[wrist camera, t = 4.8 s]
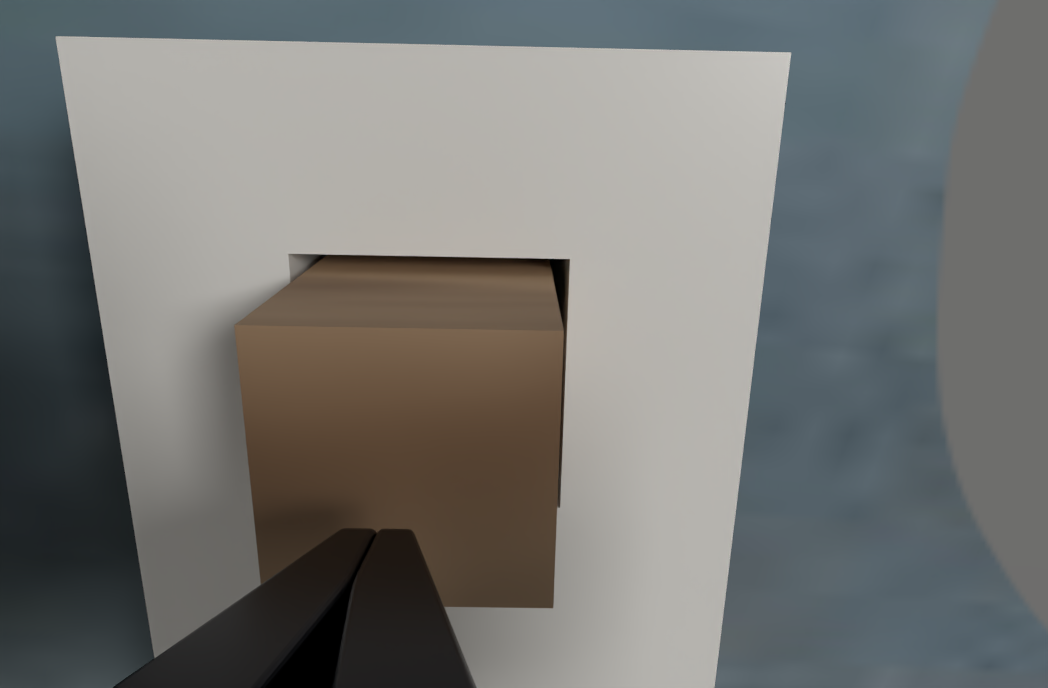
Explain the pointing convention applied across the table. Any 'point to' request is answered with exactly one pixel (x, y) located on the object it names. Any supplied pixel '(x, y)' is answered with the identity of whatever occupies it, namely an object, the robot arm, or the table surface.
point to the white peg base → (446, 231)
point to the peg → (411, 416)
